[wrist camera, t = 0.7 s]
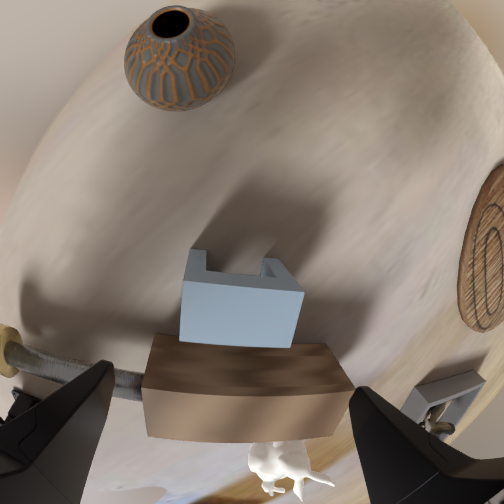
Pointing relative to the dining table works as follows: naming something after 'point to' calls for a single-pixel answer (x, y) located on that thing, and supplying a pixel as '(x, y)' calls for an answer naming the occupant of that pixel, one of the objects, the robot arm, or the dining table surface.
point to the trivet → (484, 258)
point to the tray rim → (444, 398)
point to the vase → (179, 58)
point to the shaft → (57, 365)
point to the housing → (242, 392)
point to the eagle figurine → (439, 426)
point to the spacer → (239, 305)
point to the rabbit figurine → (283, 465)
